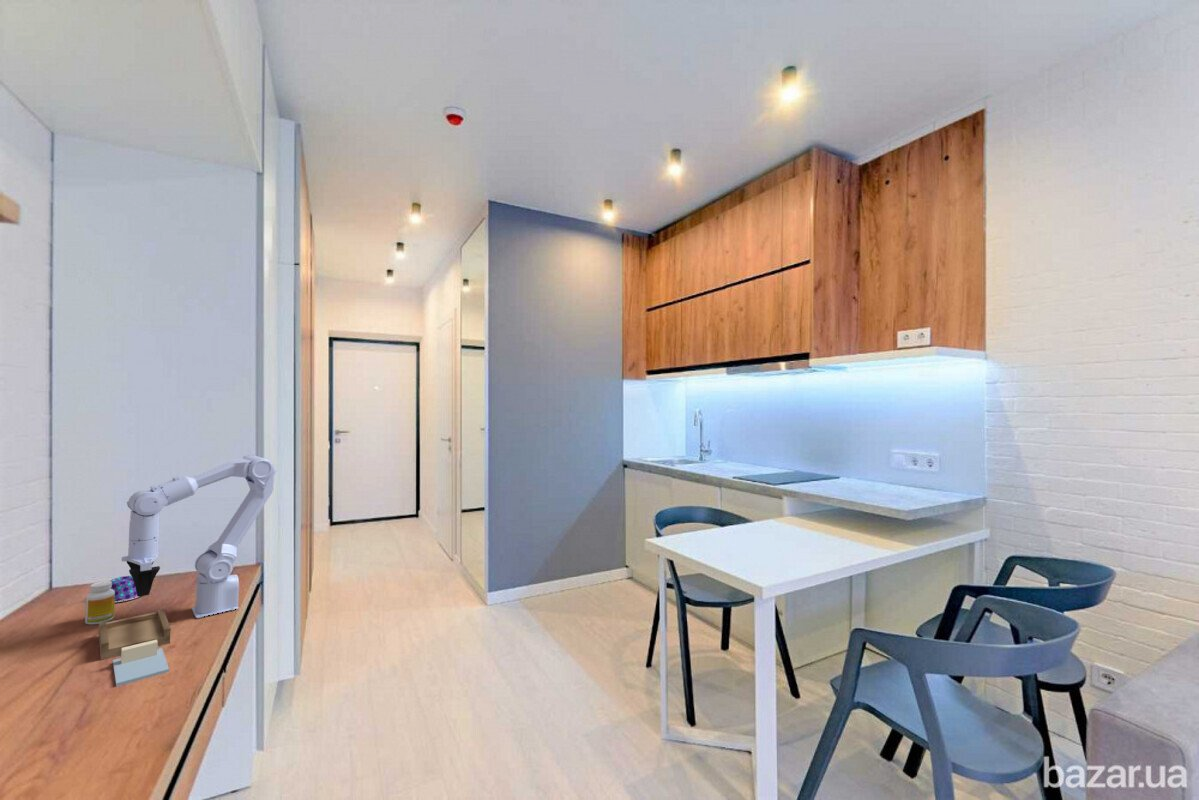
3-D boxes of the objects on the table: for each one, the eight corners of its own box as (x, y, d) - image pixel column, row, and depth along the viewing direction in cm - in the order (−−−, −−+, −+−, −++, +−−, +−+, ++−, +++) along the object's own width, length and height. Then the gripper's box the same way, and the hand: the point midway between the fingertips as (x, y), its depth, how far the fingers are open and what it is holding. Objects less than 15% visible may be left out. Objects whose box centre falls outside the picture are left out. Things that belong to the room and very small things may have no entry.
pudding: (119, 587, 152) (120, 570, 152) (160, 589, 152) (161, 572, 152) (80, 604, 140) (80, 585, 140) (124, 606, 140) (125, 588, 140)
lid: (161, 652, 119) (162, 635, 119) (168, 674, 111) (169, 655, 111) (112, 665, 113) (113, 646, 113) (116, 689, 105) (116, 669, 105)
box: (162, 622, 132) (163, 608, 132) (169, 643, 122) (170, 628, 122) (98, 636, 123) (99, 622, 123) (100, 660, 114) (101, 644, 114)
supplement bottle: (118, 618, 133) (119, 582, 132) (90, 627, 128) (92, 589, 128) (108, 614, 135) (109, 578, 135) (80, 621, 130) (82, 584, 130)
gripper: (120, 533, 130) (118, 585, 130) (124, 548, 120) (122, 604, 120) (156, 529, 135) (154, 579, 135) (163, 542, 125) (161, 596, 125)
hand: (141, 590), depth 128 cm, fingers open, 7 cm apart
